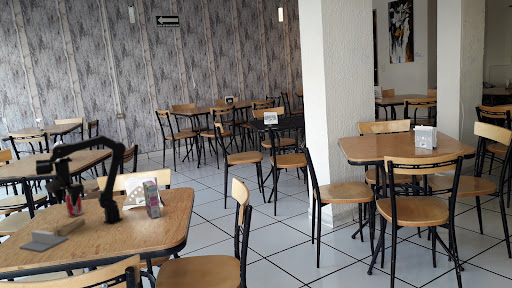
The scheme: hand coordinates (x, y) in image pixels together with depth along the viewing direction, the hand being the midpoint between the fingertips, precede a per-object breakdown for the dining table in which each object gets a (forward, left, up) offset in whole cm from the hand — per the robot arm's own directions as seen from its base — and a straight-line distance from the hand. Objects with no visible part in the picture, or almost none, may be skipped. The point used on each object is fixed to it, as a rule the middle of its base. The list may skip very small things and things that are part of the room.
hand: (67, 205), depth 181 cm
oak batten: (0, 0, -13) cm, 13 cm away
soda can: (+16, -16, -12) cm, 26 cm away
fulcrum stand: (-1, +15, -12) cm, 19 cm away
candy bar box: (-27, -26, -12) cm, 40 cm away
